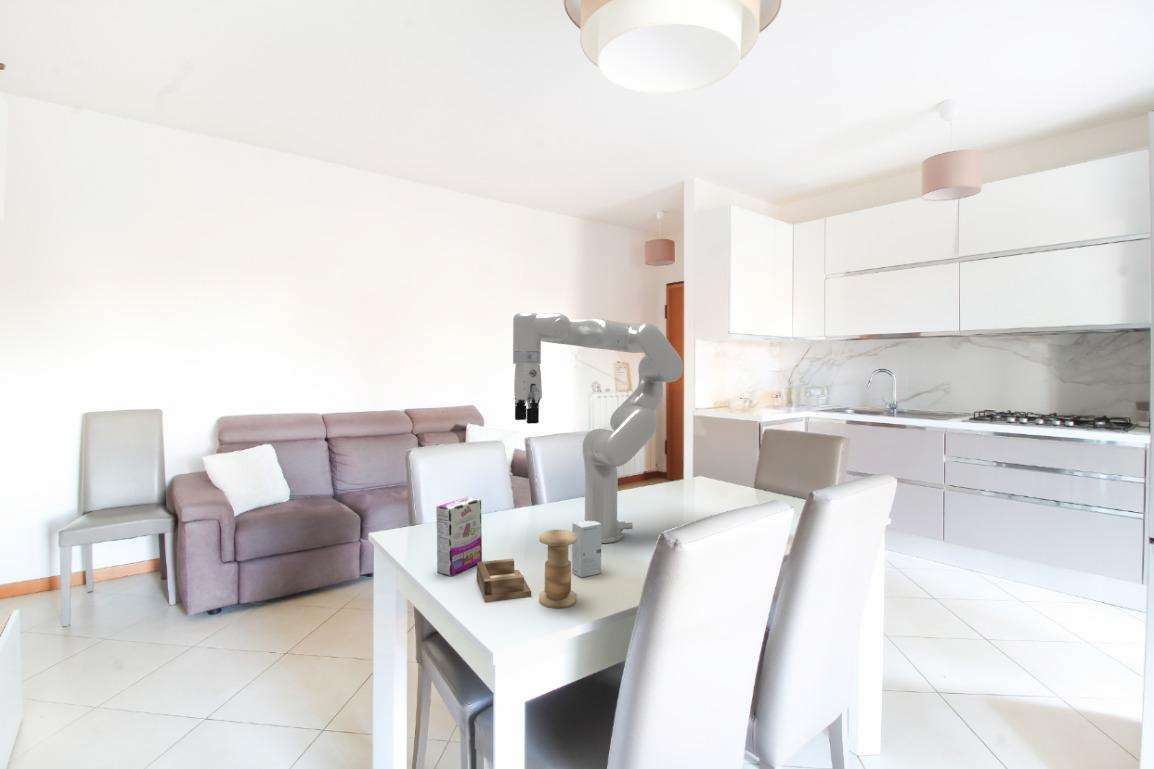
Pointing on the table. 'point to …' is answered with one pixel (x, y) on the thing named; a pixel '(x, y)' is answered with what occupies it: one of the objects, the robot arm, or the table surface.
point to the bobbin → (557, 569)
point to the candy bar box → (458, 535)
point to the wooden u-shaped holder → (501, 580)
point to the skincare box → (586, 548)
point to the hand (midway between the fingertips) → (526, 421)
